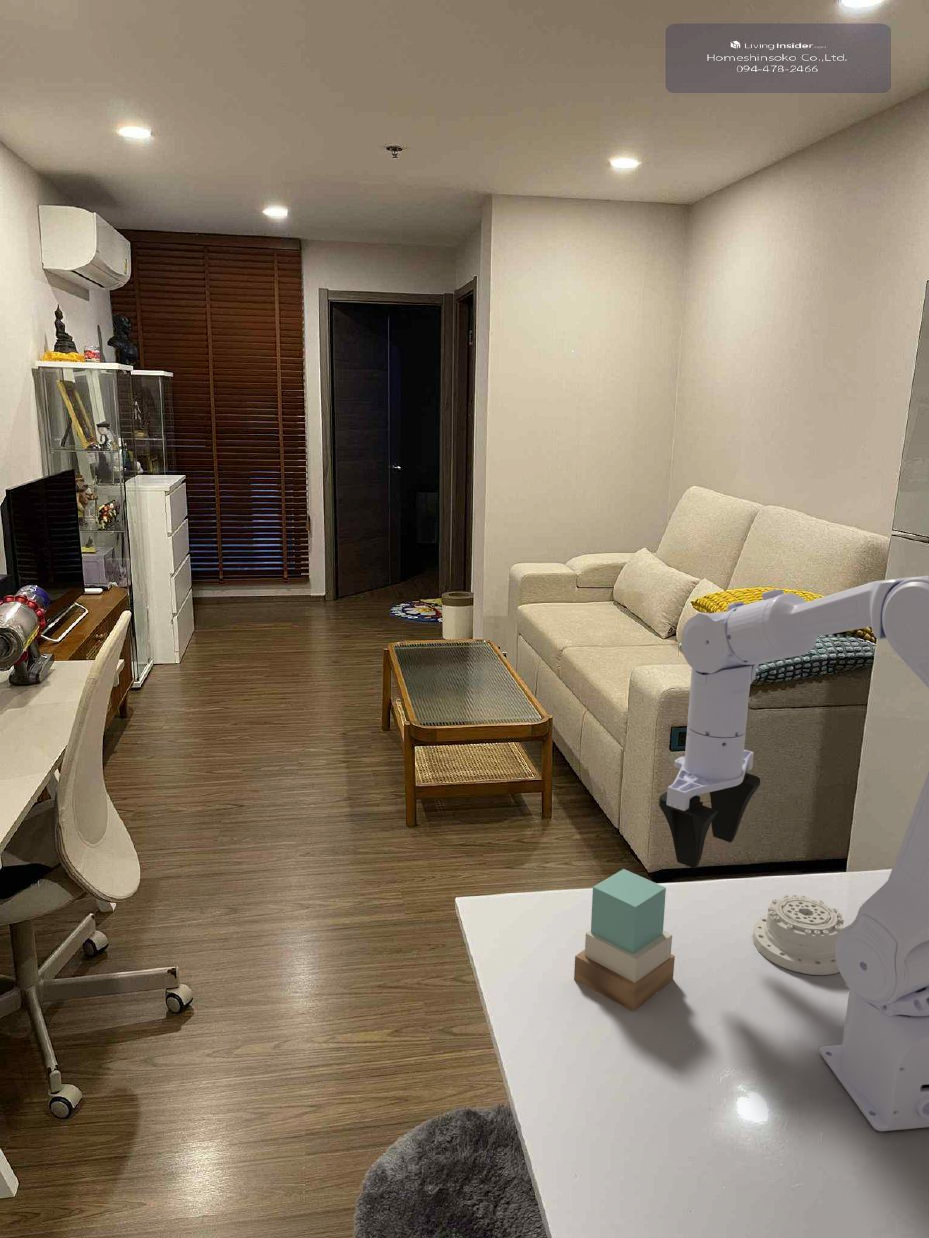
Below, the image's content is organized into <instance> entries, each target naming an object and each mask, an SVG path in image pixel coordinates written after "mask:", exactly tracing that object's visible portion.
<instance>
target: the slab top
mask: <svg viewBox="0 0 929 1238" xmlns="http://www.w3.org/2000/svg"><path fill="white" fill-rule="evenodd" d="M584 942H585V944H584V950H585V956H586V957H588V958H590V959H591V960H593V961H595V962H597V963H599V964H601V965H602V966H604V967H606V968H608V969H610V970H612V971H613V972H615V973H617V974H619V975H621V976H623V977H625V978H626V979H628V980H630V981H632V982H634V983H636V982H637V981H639V980H640V979H641V978H643V977H644V976H646V975H647V974H648V973H650V972H651V971H652V970H654V969H655V968H657V967H658V966H659V965H661V964H662V963H664V962H665V961H666V960H668V959H669V958H670V957H671V954H672V945H673V944H672V943H673V934H671V933H669V932H667V931H665V930H663V934H661V935H660V936H659V937H657V938H656V939H654V940H653V941H651V942H650V943H648V944H647V945H646V946H644V947H643V948H641V949H640V950H638V951H637V952H635V953H634V954H631V953H629V952H627V951H625V950H623V949H622V948H620V947H618V946H616V945H614V944H612V943H610V942H608V941H606V940H604V939H602V938H600V937H598V936H597V935H595V934H593V933H591V929H590V930H589V931H587V932H585V941H584Z"/></svg>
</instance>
